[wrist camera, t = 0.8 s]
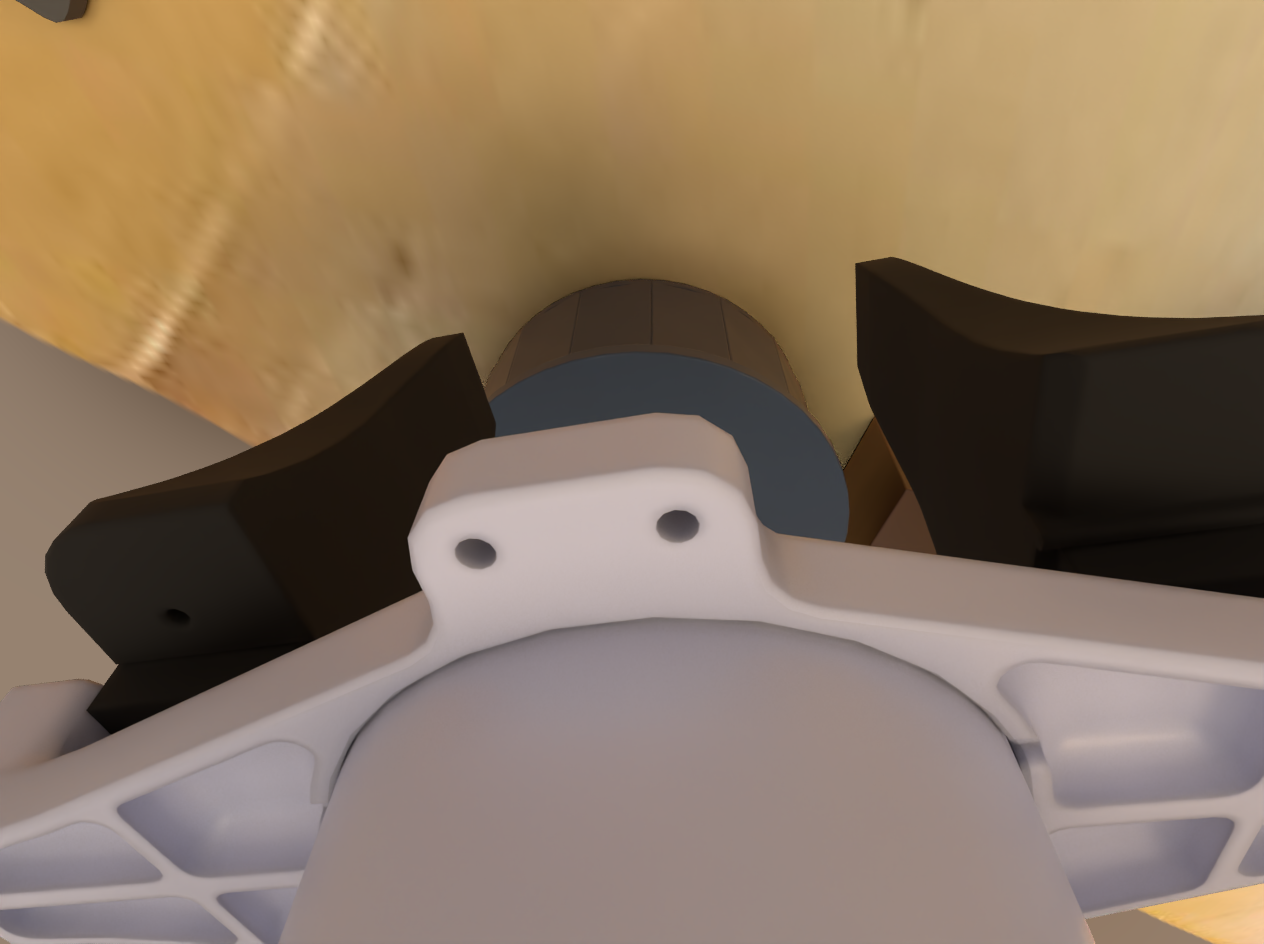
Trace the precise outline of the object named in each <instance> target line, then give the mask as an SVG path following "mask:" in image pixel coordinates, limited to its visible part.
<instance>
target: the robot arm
mask: <svg viewBox="0 0 1264 944" xmlns="http://www.w3.org/2000/svg"><path fill="white" fill-rule="evenodd" d="M855 270H856V317H857V365H858V369H859V373H860V376H861V379H862V382H863V386H864V389H865V392H866V395H867V398H868V401H869V404H870V407H871V409H872V411H873V413H874V415H875V417H876V419H877V421H878V423H879V425H880V427H881V429H882V431H883V433H884V435H885V437H886V439H887V441H888V443H889V445H890V447H891V449H892V451H893V453H894V455H895V457H896V459H897V461H898V463H899V465H900V466H901V468H902V470H903V472H904V474H905V476H906V478H907V480H908V482H909V484H910V486H911V488H912V490H913V492H914V494H915V497H916V499H917V501H918V503H919V506H920V508H921V510H922V513H923V516H924V519H925V522H926V525H927V527H928V530H929V533H930V536H931V539H932V542H933V544H934V547H935V550H936V553H937V555H934V554H927V553H919V552H912V551H904V550H897V549H889V548H882V547H874V546H866V545H859V544H851V543H844V542H836V541H829V540H821V539H814V538H806V537H799V536H791V535H784V534H778V533H775V532H774V531H772V530H770V529H769V528H767V527H766V526H764V525H763V524H762V523H761V521H760V520H759V518H758V517H757V515H756V511H755V506H754V500H753V494H752V488H751V483H750V477H749V471H748V466H747V464H746V462H745V460H744V458H743V456H742V454H741V452H740V450H739V448H738V446H737V444H736V442H735V440H734V438H733V436H732V435H730V434H729V433H727V432H725V431H724V430H722V429H720V428H719V427H717V426H715V425H714V424H712V423H710V422H709V421H707V420H705V419H704V418H702V417H700V416H699V415H684V414H669V413H650V414H643V415H637V416H630V417H624V418H618V419H611V420H605V421H598V422H592V423H586V424H579V425H573V426H566V427H560V428H554V429H547V430H541V431H535V432H528V433H522V434H515V435H509V436H503V437H496V438H495V431H496V421H495V419H494V416H493V413H492V410H491V408H490V405H489V402H488V399H487V397H486V394H485V391H484V388H483V386H482V383H481V380H480V377H479V375H478V372H477V369H476V366H475V363H474V361H473V358H472V355H471V352H470V350H469V347H468V344H467V341H466V339H465V336H464V333H458V334H453V335H447V336H442V337H436V338H432V339H430V340H427V341H425V342H423V343H422V344H420V345H418V346H417V347H415V348H414V349H412V350H411V351H409V352H408V353H406V354H405V355H403V356H402V357H400V358H399V359H398V360H396V361H395V362H394V363H392V364H391V365H389V366H388V367H387V368H385V369H384V370H383V371H381V372H380V373H378V374H377V375H376V376H374V377H373V378H372V379H370V380H369V381H367V382H366V383H365V384H363V385H362V386H360V387H359V388H357V389H356V390H354V391H353V392H351V393H350V394H348V395H347V396H345V397H344V398H342V399H341V400H339V401H338V402H337V403H335V404H334V405H332V406H331V407H329V408H327V409H326V410H324V411H323V412H321V413H319V414H318V415H316V416H314V417H313V418H311V419H309V420H307V421H306V422H304V423H302V424H300V425H298V426H296V427H295V428H293V429H291V430H289V431H287V432H285V433H283V434H281V435H279V436H277V437H275V438H273V439H271V440H269V441H266V442H264V443H262V444H260V445H258V446H255V447H253V448H251V449H249V450H247V451H244V452H242V453H240V454H238V455H236V456H233V457H231V458H228V459H226V460H223V461H221V462H218V463H215V464H213V465H210V466H208V467H205V468H202V469H199V470H196V471H194V472H190V473H187V474H184V475H182V476H179V477H176V478H173V479H170V480H166V481H163V482H160V483H156V484H152V485H149V486H145V487H142V488H138V489H134V490H131V491H127V492H123V493H120V494H116V495H113V496H109V497H105V498H100V499H96V500H94V501H92V502H90V503H89V504H88V505H87V506H86V507H85V508H84V509H83V510H82V511H81V513H79V515H78V516H77V517H76V518H75V519H74V520H73V521H72V522H71V523H70V524H69V525H68V526H67V527H66V528H65V529H64V530H63V531H62V532H61V533H60V534H59V536H58V537H57V538H56V539H55V540H54V541H53V543H52V545H51V546H50V548H49V550H48V552H47V553H46V556H45V573H46V576H47V579H48V581H49V584H50V587H51V589H52V591H53V593H54V595H55V596H56V598H57V599H58V600H59V602H60V603H61V604H62V606H63V607H64V608H65V610H66V611H67V612H68V613H69V614H70V615H71V616H72V617H73V618H74V620H75V621H76V622H77V623H78V624H79V625H80V626H81V627H82V628H83V629H84V630H85V631H86V632H87V634H88V635H89V636H90V637H91V638H92V639H93V640H94V641H95V642H96V643H97V644H98V645H99V646H100V647H101V648H102V649H103V651H104V652H105V653H106V654H107V655H108V656H109V657H110V658H111V659H112V660H113V661H114V662H115V664H119V665H118V666H117V668H116V669H115V671H114V672H113V674H112V675H111V676H110V678H109V679H108V680H107V682H106V683H105V685H104V686H103V685H102V684H99V683H96V682H94V681H91V680H84V679H73V680H66V681H57V682H49V683H40V684H33V685H24V686H17V687H13V688H12V689H11V690H10V691H9V692H8V693H7V695H6V696H5V697H4V698H3V699H2V701H1V702H0V937H2V938H3V939H5V940H6V941H8V942H10V943H11V944H1096V943H1095V941H1094V939H1093V936H1092V934H1091V932H1090V929H1089V927H1088V925H1087V922H1086V920H1085V919H1089V918H1093V917H1098V916H1104V915H1109V914H1113V913H1118V912H1123V911H1128V910H1133V909H1138V908H1143V907H1148V906H1153V905H1158V904H1163V903H1168V902H1173V901H1178V900H1183V899H1188V898H1193V897H1198V896H1203V895H1208V894H1213V893H1218V892H1223V891H1228V890H1232V889H1237V888H1242V887H1247V886H1252V885H1257V884H1262V883H1264V315H1257V316H1235V317H1214V318H1153V317H1132V316H1117V315H1108V314H1098V313H1089V312H1080V311H1073V310H1067V309H1060V308H1055V307H1050V306H1045V305H1040V304H1035V303H1030V302H1025V301H1021V300H1017V299H1013V298H1010V297H1006V296H1003V295H1000V294H996V293H993V292H990V291H986V290H983V289H980V288H977V287H974V286H971V285H968V284H966V283H963V282H960V281H957V280H955V279H952V278H950V277H947V276H944V275H942V274H939V273H937V272H934V271H932V270H929V269H927V268H924V267H922V266H919V265H916V264H914V263H911V262H908V261H905V260H902V259H899V258H894V257H889V258H883V259H877V260H872V261H866V262H860V263H855Z"/></svg>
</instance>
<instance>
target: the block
mask: <svg viewBox="0 0 1264 944" xmlns="http://www.w3.org/2000/svg"><path fill="white" fill-rule="evenodd" d="M843 473H844V477H845V481H846V485H847V489H848V498H849V512H850V513H849V522H848V532H847V536H846V540H845V543H851V544H859V545H866V546H874V547H882V548H889V549H897V550H904V551H912V552H919V553H927V554H934V555H937V553H936V550H935V547H934V544H933V542H932V539H931V536H930V533H929V530H928V527H927V525H926V522H925V519H924V516H923V513H922V510H921V508H920V506H919V503H918V501H917V499H916V497H915V494H914V492H913V490H912V488H911V486H910V484H909V482H908V480H907V478H906V476H905V474H904V472H903V470H902V468H901V466H900V465H899V463H898V461H897V459H896V457H895V455H894V453H893V451H892V449H891V447H890V445H889V443H888V441H887V439H886V437H885V435H884V433H883V431H882V429H881V427H880V425H879V423H878V421H877V419H876V418H873V420H872V422H871V424H870V425H869V427H868V429H867V431H866V432H865V434H864V436H863V438H862V440H861V441H860V443H859V445H858V447H857V448H856V450H855V452H854V454H853V455H852V457H851V459H850V461H849V462H848V464H847V466H846V468H845V469H844V471H843Z"/></svg>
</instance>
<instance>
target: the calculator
mask: <svg viewBox="0 0 1264 944" xmlns="http://www.w3.org/2000/svg"><path fill="white" fill-rule="evenodd" d="M16 1H18V2H19V3H21V4H23V5H24V6H26V7H28V8H29V9H31V10H33V11H34V12H36V13H38V14H39V15H41V16H43V17H44V18H46V19H49V20H51V21H53V22H56V23H57V22H62V21H67V20H73V19H77V18H81V17H82V15H83V13H84V11H85V9H86V4H87V0H16Z"/></svg>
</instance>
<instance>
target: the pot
mask: <svg viewBox="0 0 1264 944" xmlns="http://www.w3.org/2000/svg"><path fill="white" fill-rule="evenodd" d="M629 344H650V345H669V346H675V347H681V348H687V349H694V350H699V351H703V352H706V353H709V354H713V355H716V356H720V357H723V358H727V359H729V360H732V361H734V362H736V363H738V364H741V365H743V366H745V367H748V368H750V369H752V370H755V371H756V372H758V373H760V374H761V375H763V376H765V377H766V378H768V379H770V380H771V381H773V382H775V383H776V384H778V385H780V386H781V387H782V388H783V389H784V390H786V391H787V392H788V393H789V394H791V395H792V396H793V397H794V398H796V399H797V400H798V401H799V402H800V403H801V404H802V405H803V406H804V407H805V408H806V409H807V410H808V408H807V405H806V402H805V399H804V396H803V393H802V389H801V386H800V384H799V382H798V381H797V379H796V377H795V375H794V373H793V372H792V369H791V367H790V365H789V363H788V361H787V358H786V356H785V355H784V353H783V352H782V350H781V348H780V347H779V345H778V344H777V342H776V341H775V339H774V337H772V335H771V334H769V333H768V332H767V330H766V329H765V328H764V327H763V326H762V325H761V324H760V323H759V322H757V321H756V320H755V319H754V318H753V317H752V316H750V315H749V314H748V313H747V312H746V311H744V310H742V309H741V308H739V307H738V306H736V305H734V304H733V303H731V302H730V301H728V300H726V299H724V298H722V297H720V296H717V295H715V294H713V293H711V292H709V291H706V290H703V289H699V288H696V287H693V286H690V285H686V284H681V283H676V282H670V281H664V280H645V279H637V280H624V281H615V282H610V283H605V284H600V285H596V286H592V287H589V288H586V289H583V290H581V291H578V292H575V293H572V294H570V295H568V296H566V297H564V298H562V299H560V300H558V301H556V302H554V303H553V304H551V305H550V306H548V307H547V308H545V309H544V310H542V311H541V312H539V313H538V314H537V315H535V316H534V317H533V318H532V319H531V320H530V321H529V322H528V323H526V324H525V325H524V326H523V327H522V328H521V329H520V330H519V332H518V333H517V334H516V335H515V336H514V338H513V339H512V340H511V341H510V343H509V344H508V345H507V347H506V349H505V350H504V352H503V354H502V356H501V357H500V359H499V361H498V363H497V364H496V366H495V367H494V368H493V370H492V371H491V373H490V376H489V378H488V381H487V384H486V387H485V390H484V391H485V394H486V397H487V398H488V397H490V396H491V395H492V394H493V393H494V392H495V391H496V390H497V389H499V388H500V387H502V386H503V385H505V384H506V383H508V382H510V381H511V380H513V379H514V378H516V377H517V376H519V375H520V374H522V373H524V372H526V371H528V370H530V369H533V368H535V367H537V366H539V365H541V364H543V363H545V362H547V361H550V360H553V359H556V358H559V357H562V356H565V355H569V354H572V353H575V352H579V351H584V350H589V349H594V348H599V347H604V346H616V345H629Z"/></svg>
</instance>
